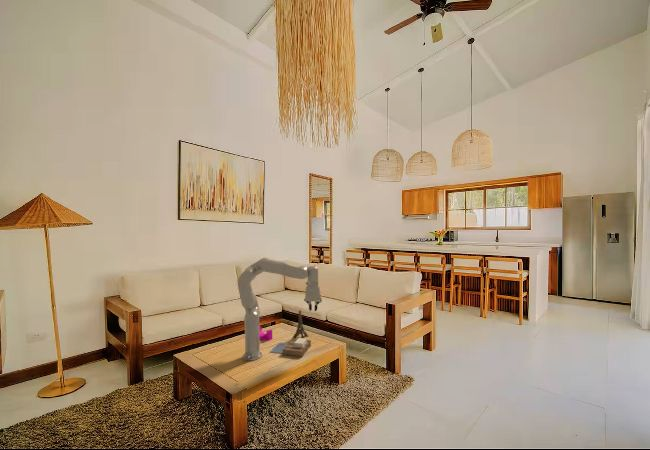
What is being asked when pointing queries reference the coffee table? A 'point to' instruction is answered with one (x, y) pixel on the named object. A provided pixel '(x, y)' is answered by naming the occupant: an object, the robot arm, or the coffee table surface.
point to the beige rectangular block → (300, 342)
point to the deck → (295, 349)
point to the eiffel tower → (300, 328)
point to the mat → (278, 348)
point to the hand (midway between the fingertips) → (313, 310)
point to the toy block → (265, 336)
